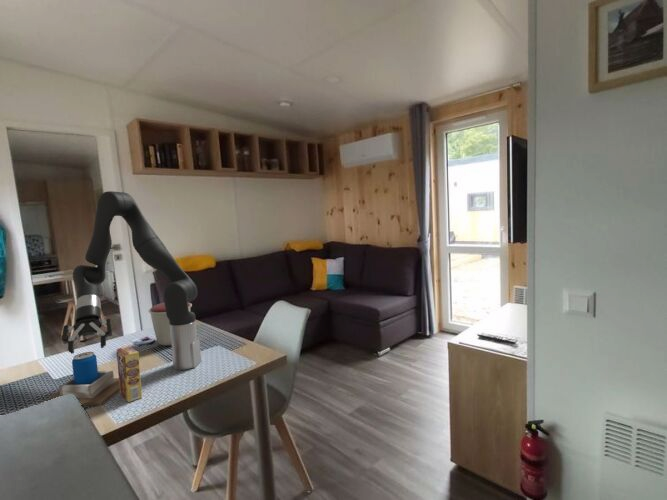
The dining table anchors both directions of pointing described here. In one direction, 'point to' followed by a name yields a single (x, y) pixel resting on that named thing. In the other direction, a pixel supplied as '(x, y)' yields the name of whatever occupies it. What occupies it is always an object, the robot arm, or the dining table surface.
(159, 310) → the canister
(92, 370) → the beverage can
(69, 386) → the guard socket
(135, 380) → the candy box
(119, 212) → the robot arm
